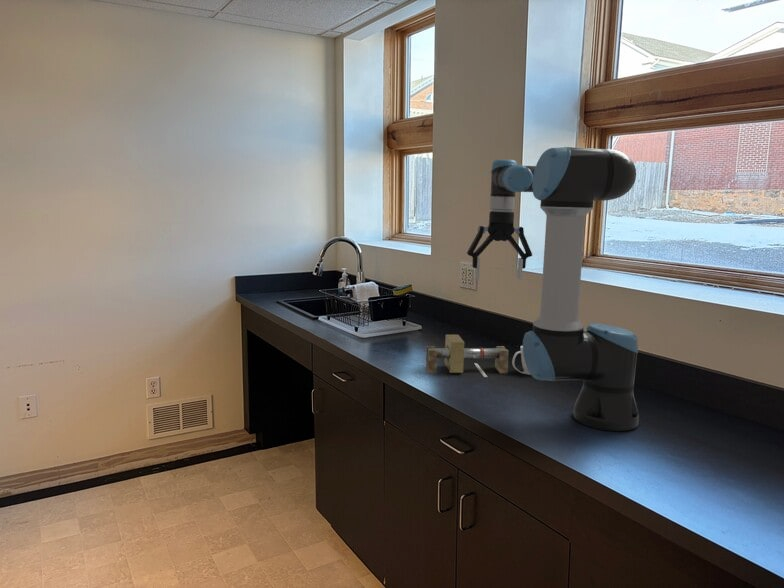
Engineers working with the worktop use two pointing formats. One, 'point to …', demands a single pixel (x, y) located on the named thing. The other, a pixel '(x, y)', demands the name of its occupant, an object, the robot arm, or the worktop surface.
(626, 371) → the robot arm
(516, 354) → the cup
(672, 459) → the worktop surface
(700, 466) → the worktop surface
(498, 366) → the cradles
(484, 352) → the pipe
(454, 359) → the collar
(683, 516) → the worktop surface
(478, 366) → the tick mark
